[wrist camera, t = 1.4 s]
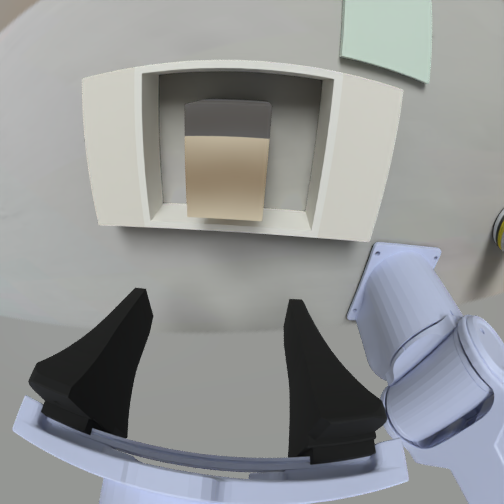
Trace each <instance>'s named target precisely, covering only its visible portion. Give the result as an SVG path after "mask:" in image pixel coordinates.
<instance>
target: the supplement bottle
mask: <svg viewBox="0 0 504 504" xmlns="http://www.w3.org/2000/svg"><path fill="white" fill-rule="evenodd" d="M493 238H494V241H495V243H496V244H497V245H498V247H499V248H500V249H501V250H502V251H503V252H504V209H503V210H502V211H501V213H500V214H499V216H498V218H497V220H496V222H495V225H494V230H493Z"/></svg>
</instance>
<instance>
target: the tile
mask: <svg viewBox="0 0 504 504" xmlns="http://www.w3.org/2000/svg"><path fill="white" fill-rule="evenodd" d="M431 53H432V2H431V0H343V9H342V29H341V44H340V57H343V58H347V59H351V60H355V61H359V62H363V63H367V64H370V65H374V66H377V67H380V68H384V69H387V70H390V71H393V72H396V73H399V74H402V75H404V76H407V77H410V78H412V79H415V80H418V81H420V82H423V83H425V84H429V79H430V68H431Z"/></svg>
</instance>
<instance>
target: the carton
mask: <svg viewBox="0 0 504 504" xmlns="http://www.w3.org/2000/svg"><path fill="white" fill-rule="evenodd" d="M208 71H233V72H257V73H271V74H281V75H290V76H298V77H306V78H312V79H319V80H323V83H322V92H321V101H320V110H319V119H318V127H317V135H316V142H315V150H314V157H313V164H312V171H311V177H310V184H309V190H308V197H307V203H306V209H305V211H295V210H283V209H270V208H263V218H262V221H250V220H234V219H216V218H197V217H187V204H176V203H163V193H162V180H161V165H160V144H159V75H160V74H170V73H184V72H208ZM402 98H403V89H400V88H397V87H394V86H391V85H388V84H384V83H381V82H378V81H374V80H370V79H367V78H363V77H359V76H355V75H351V74H346V73H342V72H337V71H332V70H327V69H321V68H315V67H309V66H302V65H295V64H287V63H277V62H266V61H249V60H198V61H181V62H170V63H160V64H152V65H145V66H138V67H132V68H126V69H121V70H116V71H111V72H106V73H102V74H98V75H94V76H90V77H86V78H82V107H83V124H84V136H85V146H86V155H87V163H88V170H89V176H90V183H91V189H92V194H93V200H94V205H95V210H96V214H97V219H98V224H99V225H104V226H130V227H152V228H173V229H192V230H210V231H227V232H242V233H258V234H272V235H286V236H300V237H313V238H326V239H338V240H350V241H361V242H370V238H371V235H372V232H373V229H374V225H375V222H376V219H377V215H378V212H379V208H380V205H381V201H382V197H383V193H384V190H385V186H386V182H387V177H388V173H389V169H390V165H391V160H392V155H393V151H394V146H395V141H396V135H397V130H398V124H399V118H400V112H401V105H402Z"/></svg>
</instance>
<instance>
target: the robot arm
mask: <svg viewBox="0 0 504 504" xmlns="http://www.w3.org/2000/svg"><path fill="white" fill-rule="evenodd" d="M377 251H379V252H378V253H377V254H375V253H376V252H377ZM440 255H441V250H440V249H439V248H435V247H425V246H416V245H406V244H396V243H385V242H377V243H375V244H374V245H373V248H372V251H371V254H370V257H369V259H368V262H367V265H366V268H365V270H364V273H363V276H362V279H361V281H360V284H359V286H358V289H357V292H356V294H355V297H354V299H353V301H352V304H351V306H350V309H349V311H348V313H347V318H348V320H356V323H357V325H358V329H359V333H360V336H361V339H362V343H363V346H364V350H365V353H366V357H367V360H368V363H369V366H370V367H371V369H372V370H373V371H374V372H375V374H376V375H378V376H379V377H380V378H381V379H384V380H385V381H387V382H388V386H387V387H386V388H385V389H384V391H383V392H382V394H381V398H380V399H379V398H377V397H376V396H375V395H374V394H372V393H371V392H370V391H368V390H367V389H366V388H365V387H364V386H363V385H362V384H361V383H359V382H358V381H357V380H356V379H355V377H353V376H352V374H351V373H350V372H349V371H348V370H347V369H346V368H345V367H344V366H343V365H342V363H341V362H340V361H339V360H338V359H337V357H336V356H335V355H334V353H333V352H332V351H331V349H330V348H329V347H328V345H327V343H326V342H325V341H324V339H323V337H322V336H321V334H320V333H319V331H318V329H317V327H316V326H315V324H314V322H313V320H312V318H311V316H310V315H309V313H308V310H307V308H306V306H305V304H304V302H303V301H302V300H299V299H289V303H288V308H287V313H286V318H285V323H284V348H285V356H286V363H287V371H288V378H289V389H290V426H289V429H290V430H289V452H288V458H245V457H228V456H217V455H206V454H199V453H191V452H185V451H179V450H173V449H168V448H163V447H158V446H153V445H149V444H145V443H141V442H136V441H133V440H129V439H126V438H127V432H128V417H129V407H130V400H131V394H132V387H133V383H134V378H135V374H136V370H137V367H138V364H139V361H140V358H141V355H142V352H143V350H144V347H145V344H146V341H147V339H148V336H149V333H150V329H151V324H152V320H153V313H152V310H151V306H150V303H149V299H148V295H147V291H146V289H142V288H135V289H134V290H133V291H132V292H131V293H130V294H129V295H128V296H127V297H126V298H125V299H124V300H123V301H122V302H121V303H120V304H119V305H118V306H117V307H116V308H115V309H114V310H113V311H112V312H111V313H110V314H109V315H108V316H107V317H106V318H105V319H104V320H102V321H101V322H100V323H99V324H98V325H97V326H96V327H95V328H94V329H92V330H91V331H90V332H89V333H87V334H86V335H85V336H84V337H82V338H81V339H79V340H78V341H77V342H75V343H74V344H72V345H71V346H69V347H68V348H66V349H64V350H62V351H61V352H59V353H57V354H55V355H53V356H51V357H49V358H47V359H45V360H43V361H41V362H38V363H37V364H36V366H35V368H34V370H33V372H32V374H31V377H30V379H29V385H30V386H31V387H32V389H33V390H34V391H35V392H36V393H38V394H39V395H40V396H41V397H42V398H43V399H44V400H45V402H44V405H43V404H42V403H40V402H38V401H37V400H35V399H33V398H31V397H29V396H27V395H25V397H24V399H23V402H22V404H21V407H20V409H19V412H18V415H17V417H16V420H15V423H14V426H13V429H12V430H13V432H15V433H16V434H18V435H19V436H21V437H22V438H24V439H26V440H27V441H29V442H30V443H32V444H34V445H35V446H37V447H39V448H41V449H42V450H44V451H46V452H48V453H50V454H51V455H53V456H55V457H57V458H59V459H61V460H63V461H65V462H67V463H69V464H71V465H74V466H76V467H78V468H81V469H83V470H85V471H87V472H90V473H92V474H95V475H97V476H100V477H102V478H104V479H103V484H102V489H101V495H100V500H99V504H307V503H317V502H324V501H331V500H337V499H343V498H348V497H353V496H358V495H362V494H366V493H370V492H374V491H378V490H381V489H385V488H388V487H392V486H395V485H398V484H401V483H404V482H407V481H408V480H409V477H408V470H407V465H406V459H405V453H404V449H403V446H404V447H405V448H406V449H407V450H408V451H409V453H410V454H411V456H412V458H413V459H414V461H415V462H417V463H419V464H424V465H430V466H436V467H442V468H447V469H450V470H451V472H452V474H453V476H454V477H455V479H456V481H457V483H458V485H459V486H460V489H461V490H462V492H463V494H464V496H465V498H466V500H467V502H468V504H504V344H503V342H502V340H501V339H500V337H499V336H498V334H497V333H496V331H495V330H494V329H493V328H492V327H491V325H490V324H489V323H488V322H486V321H485V320H484V319H483V318H481V317H479V316H476V315H475V316H473V315H465V316H463V315H462V313H461V312H460V310H459V308H458V307H457V305H456V303H455V302H454V300H453V298H452V297H451V295H450V294H449V292H448V291H447V289H446V288H445V286H444V284H443V283H442V281H441V280H440V279H439V277H438V276H437V274H436V273H435V271H434V268H435V266H436V264H437V261H438V259H439V257H440ZM435 256H436V257H435ZM434 257H435V258H434ZM383 425H384V428H385V429H386V431H387V433H388V434H389V435H390V436H391V438H393V439H392V440H388V441H383V442H380V443H377V444H375V443H374V439H375V438H376V433H375V431H376V430H377V429H378V428H380V427H381V426H383ZM117 450H118V451H117ZM120 451H121V452H120ZM122 452H125V453H128V454H132V455H136V456H139V457H143V458H147V459H152V460H156V461H160V462H165V463H171V464H177V465H181V466H188V467H194V468H202V469H210V470H220V471H233V472H234V471H235V472H260V473H251V474H249V479H240V478H229V477H221V476H213V475H205V474H199V473H193V472H187V471H181V470H175V469H170V468H165V467H160V466H154V465H150V464H145V463H142V462H140V461H138V460H137V459H135V458H134V457H133V456H131V455H128V454H125V453H122Z"/></svg>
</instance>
